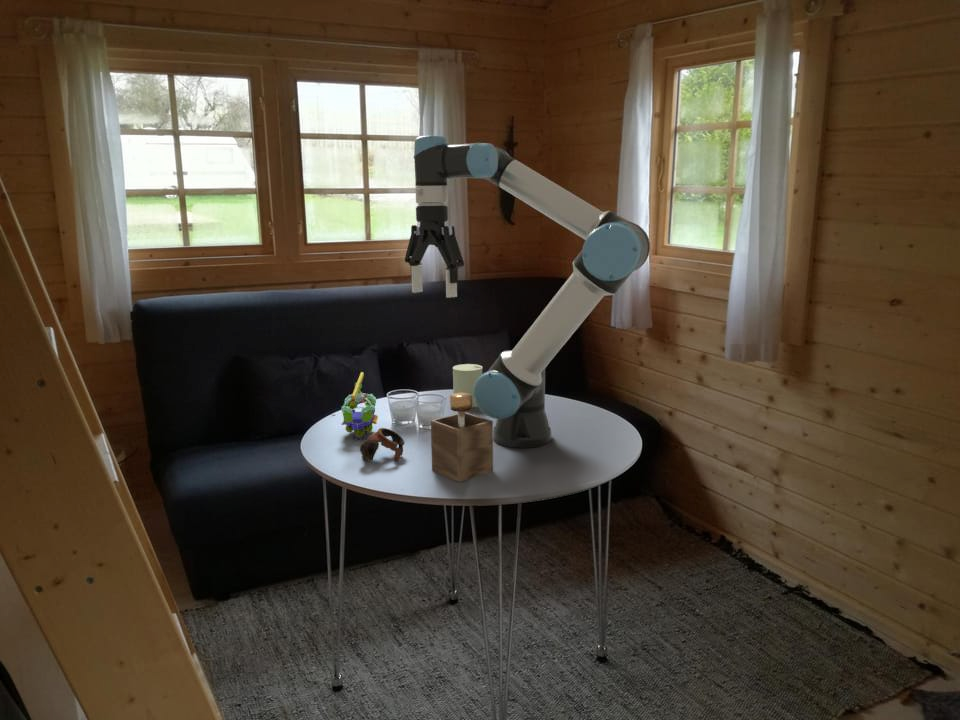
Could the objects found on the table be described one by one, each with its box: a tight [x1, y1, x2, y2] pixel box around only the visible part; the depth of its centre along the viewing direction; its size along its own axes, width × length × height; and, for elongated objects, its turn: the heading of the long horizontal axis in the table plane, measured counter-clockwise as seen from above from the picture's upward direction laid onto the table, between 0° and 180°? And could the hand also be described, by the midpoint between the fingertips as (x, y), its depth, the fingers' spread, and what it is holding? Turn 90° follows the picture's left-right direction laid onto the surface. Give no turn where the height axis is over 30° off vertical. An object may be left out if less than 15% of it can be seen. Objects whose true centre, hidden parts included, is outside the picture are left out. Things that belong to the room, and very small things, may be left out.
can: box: [452, 363, 483, 408], centre depth 221 cm, size 9×9×12 cm
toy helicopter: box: [341, 371, 379, 440], centre depth 192 cm, size 25×9×15 cm, turn 4°
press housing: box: [430, 411, 494, 483], centre depth 166 cm, size 10×10×12 cm
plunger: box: [449, 393, 473, 429], centre depth 165 cm, size 8×8×16 cm
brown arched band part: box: [359, 427, 405, 462], centre depth 175 cm, size 12×10×8 cm
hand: (434, 294), depth 175 cm, fingers open, 13 cm apart
